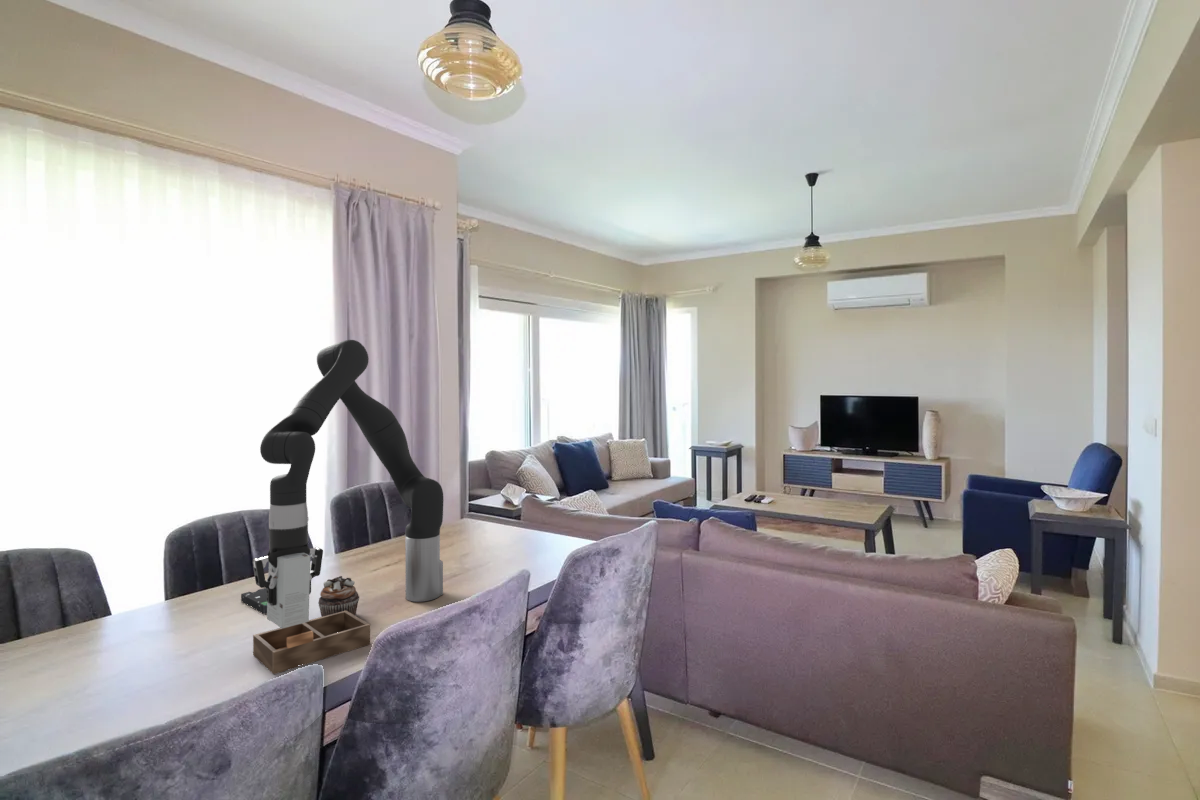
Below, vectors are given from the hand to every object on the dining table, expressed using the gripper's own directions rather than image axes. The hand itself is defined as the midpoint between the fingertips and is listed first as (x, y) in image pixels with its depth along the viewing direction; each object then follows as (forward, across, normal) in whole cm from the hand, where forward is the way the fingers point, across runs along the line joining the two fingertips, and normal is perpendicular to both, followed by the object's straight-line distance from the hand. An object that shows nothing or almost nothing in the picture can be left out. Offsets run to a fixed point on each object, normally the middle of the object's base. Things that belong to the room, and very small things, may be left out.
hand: (289, 600), depth 133 cm
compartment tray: (+12, -5, 0) cm, 13 cm away
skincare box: (+5, 0, 0) cm, 5 cm away
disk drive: (+13, -9, -38) cm, 41 cm away
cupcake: (+12, -17, -14) cm, 25 cm away
